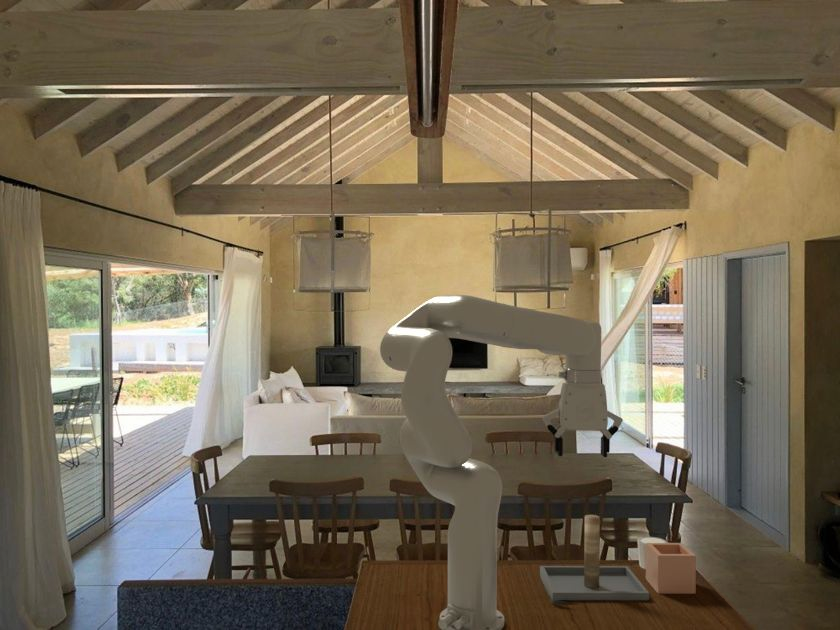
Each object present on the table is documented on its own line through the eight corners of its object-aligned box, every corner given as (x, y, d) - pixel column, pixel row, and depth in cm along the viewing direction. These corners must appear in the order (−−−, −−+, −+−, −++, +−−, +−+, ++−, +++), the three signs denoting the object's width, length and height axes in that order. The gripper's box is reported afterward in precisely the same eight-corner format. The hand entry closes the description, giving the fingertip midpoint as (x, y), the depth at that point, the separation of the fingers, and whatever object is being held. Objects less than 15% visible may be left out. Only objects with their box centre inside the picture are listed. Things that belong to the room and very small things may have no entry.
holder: (657, 597, 149) (658, 555, 149) (645, 583, 157) (645, 542, 157) (695, 597, 149) (695, 555, 149) (681, 583, 157) (681, 543, 157)
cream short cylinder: (669, 577, 161) (670, 546, 161) (638, 574, 162) (638, 544, 162) (665, 566, 167) (665, 537, 167) (635, 564, 169) (635, 535, 169)
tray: (552, 604, 146) (552, 592, 146) (540, 576, 161) (540, 565, 161) (649, 604, 146) (649, 592, 146) (627, 577, 161) (627, 566, 161)
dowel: (596, 589, 151) (597, 520, 151) (582, 586, 153) (582, 517, 152) (601, 584, 154) (601, 516, 153) (586, 581, 155) (587, 513, 155)
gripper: (545, 378, 150) (544, 458, 150) (627, 379, 150) (626, 460, 150) (540, 375, 158) (539, 451, 158) (618, 376, 158) (617, 453, 158)
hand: (581, 455), depth 154 cm, fingers open, 9 cm apart
